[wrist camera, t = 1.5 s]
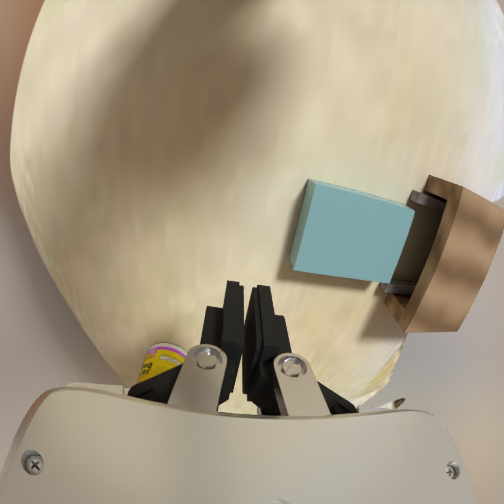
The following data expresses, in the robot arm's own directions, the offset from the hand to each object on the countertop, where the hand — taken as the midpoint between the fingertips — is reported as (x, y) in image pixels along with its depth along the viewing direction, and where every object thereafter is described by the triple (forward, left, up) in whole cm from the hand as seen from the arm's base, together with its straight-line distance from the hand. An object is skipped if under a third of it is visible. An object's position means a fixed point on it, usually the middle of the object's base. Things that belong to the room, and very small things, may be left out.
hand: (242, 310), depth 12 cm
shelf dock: (0, +26, -17) cm, 31 cm away
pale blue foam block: (0, +12, -17) cm, 21 cm away
